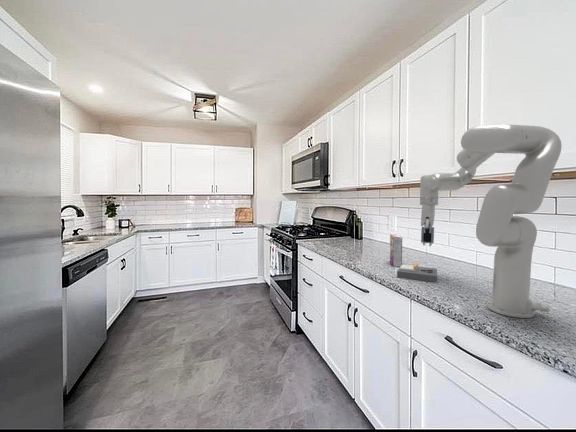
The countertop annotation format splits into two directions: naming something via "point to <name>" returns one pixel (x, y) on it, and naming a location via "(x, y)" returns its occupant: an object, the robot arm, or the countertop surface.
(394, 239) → the candy bar box
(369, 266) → the countertop surface
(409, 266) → the shutter
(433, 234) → the plug
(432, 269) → the socket
